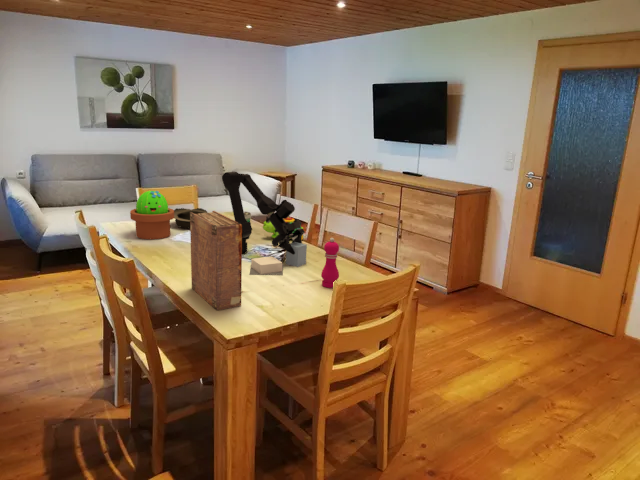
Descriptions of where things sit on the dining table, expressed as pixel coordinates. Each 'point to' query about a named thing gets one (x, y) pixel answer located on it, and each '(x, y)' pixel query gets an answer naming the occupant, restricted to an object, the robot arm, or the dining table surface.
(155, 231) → the potted cactus
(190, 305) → the dining table surface
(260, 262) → the base brick
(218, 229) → the book
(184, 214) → the stone bowl
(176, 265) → the dining table surface
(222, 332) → the dining table surface
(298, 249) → the tall brick
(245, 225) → the robot arm
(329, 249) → the pepper mill
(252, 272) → the baseplate
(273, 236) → the turtle toy
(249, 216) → the food container
